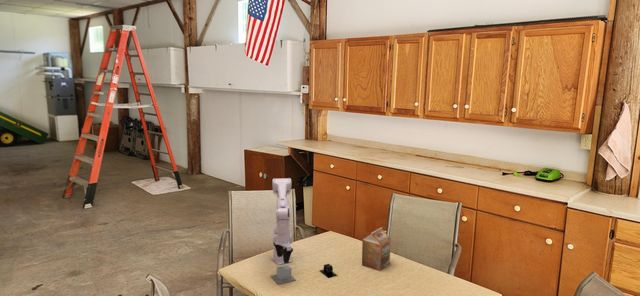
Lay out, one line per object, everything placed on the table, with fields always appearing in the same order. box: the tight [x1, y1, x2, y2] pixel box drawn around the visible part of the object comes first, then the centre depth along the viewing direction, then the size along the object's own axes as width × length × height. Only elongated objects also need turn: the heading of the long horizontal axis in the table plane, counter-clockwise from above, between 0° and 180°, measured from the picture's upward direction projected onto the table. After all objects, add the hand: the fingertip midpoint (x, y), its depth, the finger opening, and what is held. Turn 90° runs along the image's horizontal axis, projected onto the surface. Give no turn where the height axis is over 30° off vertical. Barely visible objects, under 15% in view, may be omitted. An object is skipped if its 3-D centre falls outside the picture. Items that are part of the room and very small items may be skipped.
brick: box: [276, 264, 292, 280], centre depth 207 cm, size 4×6×5 cm, turn 119°
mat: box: [270, 274, 296, 286], centre depth 207 cm, size 9×9×1 cm
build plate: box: [318, 263, 339, 279], centre depth 214 cm, size 12×7×5 cm, turn 31°
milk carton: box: [361, 226, 392, 272], centre depth 222 cm, size 10×11×19 cm
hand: (283, 259), depth 206 cm, fingers open, 7 cm apart
